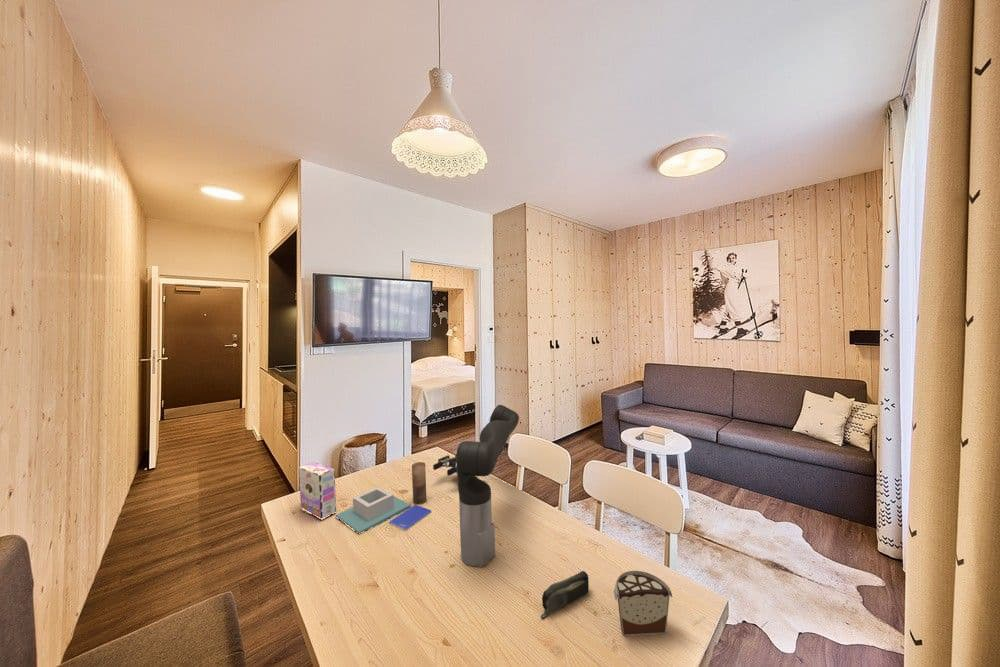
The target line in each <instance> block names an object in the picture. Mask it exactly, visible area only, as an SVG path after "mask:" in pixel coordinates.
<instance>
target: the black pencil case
mask: <svg viewBox="0 0 1000 667" xmlns="http://www.w3.org/2000/svg"><path fill="white" fill-rule="evenodd" d="M589 587H590V586H589V574H588V573H587V572H586V571H585V570H583V571H582V570H581V571H580V572H578V573H576V574H574V575H572V576H569V577H568V578H565V579H562V580H561V581H558V582H554V583H552V584H551V585H549V587H547V589H545V590H544V592H543V594H542V597H541V603H542V607H543V609H544V613H543V614H541V615H540V618H541V619H545V618H546V617H547V616H549V615H551V614H552V613H556V612H557V611H558V610H560V609H563V608H564V607H566V606H567V605H569V604H572V603H575V602H576V601H579V600H580V599H582V598H584V597H586V595H588V593H589V592H590V591H589V590H590V589H589Z"/></svg>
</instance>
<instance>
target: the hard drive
mask: <svg viewBox="0 0 1000 667" xmlns="http://www.w3.org/2000/svg"><path fill="white" fill-rule="evenodd" d="M430 514H432V510H431V509H429V508H426V507H423V506H420V505H419V504H414V505H413V506H411V508H409V509H407V510H405V511H403V512H401V513H399V514H398V515H396V517H395V516H394V518H391V519H390V520H389V521H388V525H389V524H390V525H389V526H391V525H392V527H393V526H395V527H394V528H396V529H398V528H399V529H398V530H400V529H401V531H403V532H405V531H406V532H407V531H409V530H410V529H412V528H413V527H414V526H415V525H417V524H418V523H419V522H421V521H422V520H424V519H425V518H426V517H428V516H429V515H430Z"/></svg>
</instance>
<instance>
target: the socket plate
mask: <svg viewBox="0 0 1000 667" xmlns="http://www.w3.org/2000/svg"><path fill="white" fill-rule="evenodd" d="M352 505H353V506H352V507H350V508H348V509H346V510H343V511H341V512H339V513H336V514H335V518H336V517H338V518H339V519H341V520H342V521H343V522H345V523H346V524H347V525H349V526H350V527H351V528H353V529H354V530H355V531H356V532H358V533H361V532H363V531H365V530H367V529H369V530H371V529H372V528H371V527H373V528H375V527H377V526H379V525H380V523H381V524H382V523H384V522H386V521H388V520H390V519H392V518H393V516H394V517H395V515H396V516H398V515H400V514H402V513H403V512H405V511H406V509H407V510H408V508H410V507H412V506H411V503H408V502H405V501H404V500H403V499H401V498H398V497H397V496H395V495H394V494H393V493H391V492H389V491H387V490H385V489H384V488H382V487H381V486H380V487H379V486H377V487H375V488H372V489H369V490H367V491H366V492H363V493H360V494H358V495H357V496H354V497H352ZM391 517H392V518H391ZM389 518H390V519H389ZM387 519H388V520H387ZM385 520H386V521H385ZM383 521H384V522H383ZM378 524H379V525H378ZM376 525H377V526H376ZM374 526H375V527H374ZM370 528H371V529H370ZM367 531H368V530H367ZM356 532H355V533H356Z"/></svg>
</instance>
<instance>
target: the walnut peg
mask: <svg viewBox="0 0 1000 667" xmlns="http://www.w3.org/2000/svg"><path fill="white" fill-rule="evenodd" d="M426 473H427V472H426V463H425V462H422V461H420V462H419V461H417V462H415V463H413V464H411V478H412V479H411V480H412V484H411V485H412V503H413V504H414V505H423V504H424V503H426V502H427V474H426Z"/></svg>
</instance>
